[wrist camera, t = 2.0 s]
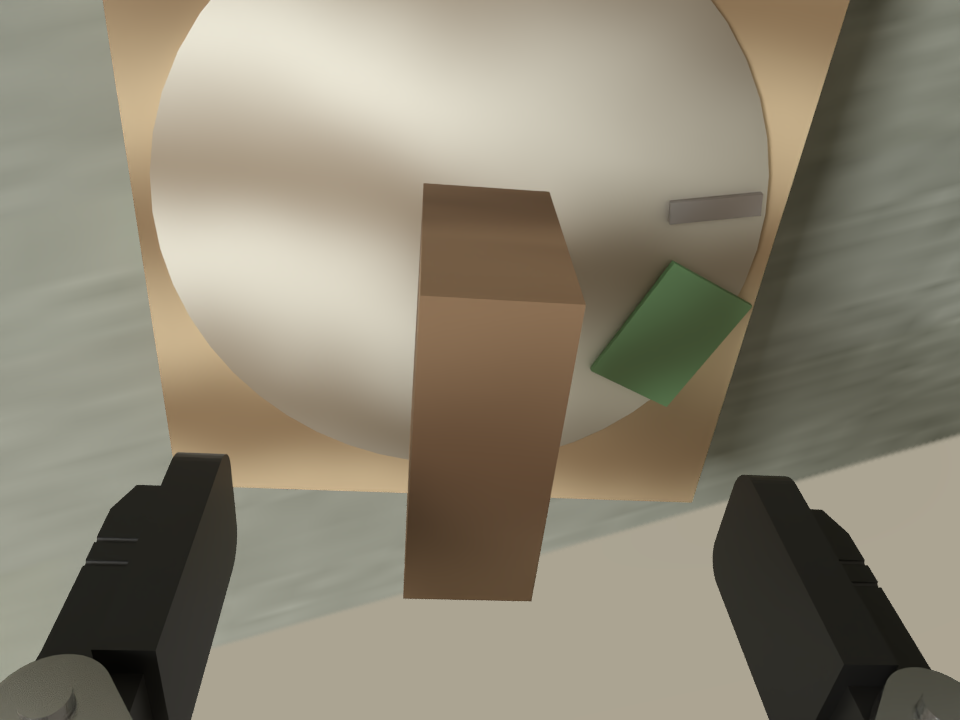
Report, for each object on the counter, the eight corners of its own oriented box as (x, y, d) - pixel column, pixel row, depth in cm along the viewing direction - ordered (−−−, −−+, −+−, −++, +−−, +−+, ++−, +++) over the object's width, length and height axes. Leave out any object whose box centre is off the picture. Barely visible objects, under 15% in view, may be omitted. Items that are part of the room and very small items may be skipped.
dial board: (129, -240, 19) (55, -258, 15) (823, -163, 20) (910, -162, 17) (206, 410, 29) (173, 493, 25) (663, 429, 31) (695, 510, 27)
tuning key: (425, 107, 19) (419, 295, 11) (524, 114, 20) (585, 304, 12) (407, 454, 25) (395, 736, 17) (483, 456, 25) (506, 736, 18)
